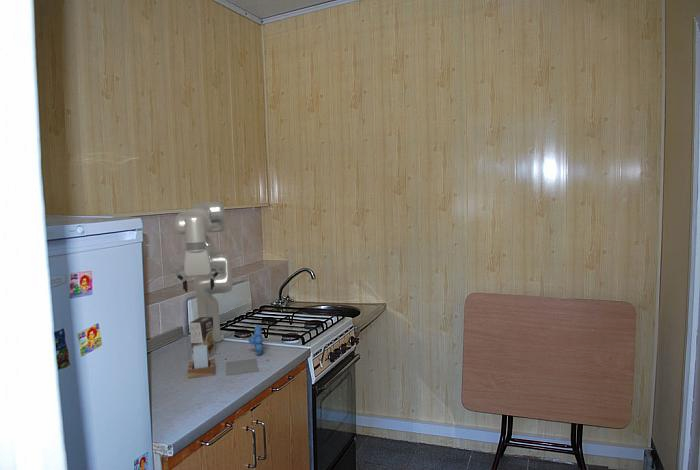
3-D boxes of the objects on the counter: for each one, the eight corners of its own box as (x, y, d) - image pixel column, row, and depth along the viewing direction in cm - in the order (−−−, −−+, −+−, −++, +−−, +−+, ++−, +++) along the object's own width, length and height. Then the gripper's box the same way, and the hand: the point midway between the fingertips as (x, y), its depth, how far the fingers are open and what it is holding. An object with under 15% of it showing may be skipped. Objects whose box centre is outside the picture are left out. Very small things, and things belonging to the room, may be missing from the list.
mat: (225, 363, 194) (225, 362, 194) (255, 359, 197) (255, 358, 197) (225, 375, 181) (225, 374, 181) (258, 371, 184) (258, 370, 184)
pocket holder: (189, 369, 189) (189, 362, 188) (215, 366, 191) (214, 359, 191) (188, 378, 179) (187, 370, 179) (214, 375, 182) (214, 367, 181)
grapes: (249, 350, 209) (247, 323, 208) (264, 348, 210) (263, 321, 209) (249, 359, 198) (247, 330, 197) (265, 357, 199) (263, 329, 198)
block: (195, 370, 187) (193, 346, 186) (208, 369, 188) (207, 344, 187) (194, 375, 182) (193, 350, 181) (208, 373, 183) (206, 348, 182)
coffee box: (205, 360, 198) (203, 322, 197) (191, 359, 200) (188, 322, 198) (216, 352, 207) (213, 316, 206) (202, 352, 209) (199, 316, 207)
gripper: (219, 245, 193) (221, 287, 194) (173, 248, 189) (176, 290, 190) (218, 246, 186) (221, 289, 187) (171, 249, 182) (175, 293, 182)
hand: (199, 290), depth 188 cm, fingers open, 9 cm apart
